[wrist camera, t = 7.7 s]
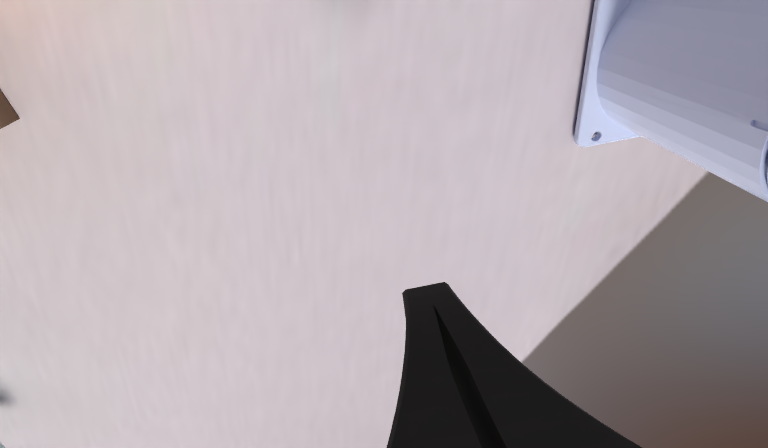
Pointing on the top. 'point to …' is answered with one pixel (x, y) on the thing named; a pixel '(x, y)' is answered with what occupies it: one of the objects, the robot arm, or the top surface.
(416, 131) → the top surface
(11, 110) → the shelf
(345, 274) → the top surface
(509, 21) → the top surface
